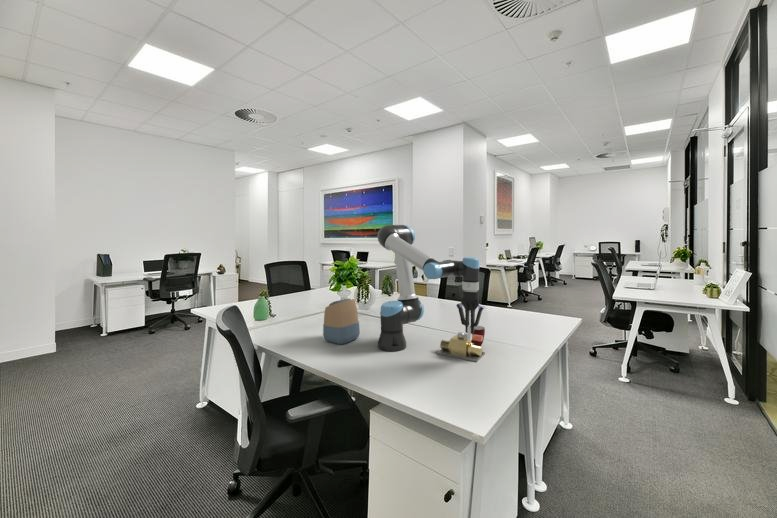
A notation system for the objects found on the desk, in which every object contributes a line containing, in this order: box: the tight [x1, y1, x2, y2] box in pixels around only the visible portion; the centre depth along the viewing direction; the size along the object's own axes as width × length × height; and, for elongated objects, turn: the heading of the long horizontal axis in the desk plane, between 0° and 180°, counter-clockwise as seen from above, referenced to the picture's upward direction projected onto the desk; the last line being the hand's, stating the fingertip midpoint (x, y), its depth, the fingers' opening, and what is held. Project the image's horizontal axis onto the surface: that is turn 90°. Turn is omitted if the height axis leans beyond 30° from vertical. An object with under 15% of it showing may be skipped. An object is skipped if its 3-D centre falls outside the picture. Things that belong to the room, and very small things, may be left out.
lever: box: [457, 332, 484, 342], centre depth 164 cm, size 12×3×3 cm, turn 57°
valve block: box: [436, 334, 486, 363], centre depth 167 cm, size 20×12×8 cm, turn 57°
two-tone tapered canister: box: [322, 298, 361, 345], centre depth 191 cm, size 17×17×23 cm
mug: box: [471, 325, 486, 347], centre depth 177 cm, size 10×8×10 cm
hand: (469, 339), depth 160 cm, fingers closed
